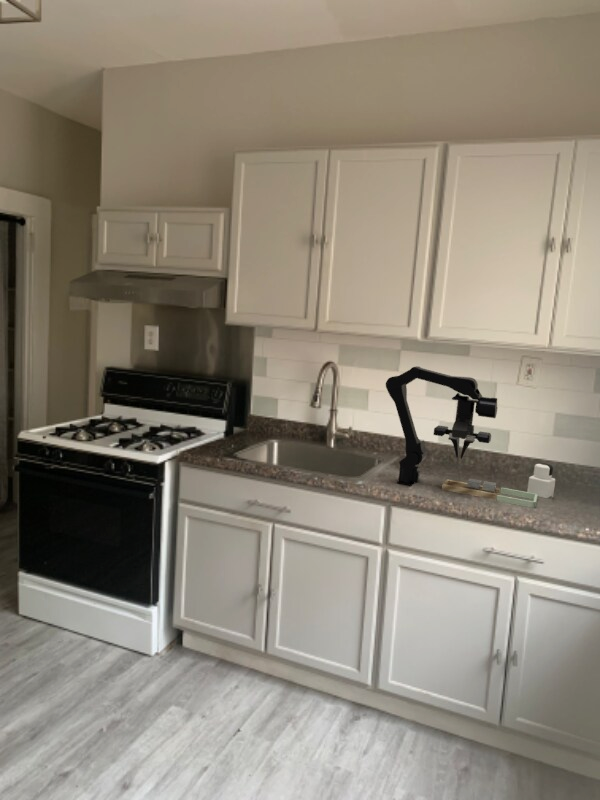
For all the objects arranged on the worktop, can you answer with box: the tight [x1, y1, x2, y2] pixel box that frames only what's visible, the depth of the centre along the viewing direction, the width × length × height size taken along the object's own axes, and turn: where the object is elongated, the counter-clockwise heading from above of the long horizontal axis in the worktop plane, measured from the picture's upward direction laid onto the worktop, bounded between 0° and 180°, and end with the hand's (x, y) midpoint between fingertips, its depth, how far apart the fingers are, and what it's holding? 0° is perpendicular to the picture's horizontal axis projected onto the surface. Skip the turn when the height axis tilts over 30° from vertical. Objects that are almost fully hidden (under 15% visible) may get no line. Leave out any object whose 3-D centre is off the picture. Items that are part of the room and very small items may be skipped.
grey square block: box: [481, 480, 497, 493], centre depth 215 cm, size 4×4×4 cm
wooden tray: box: [441, 479, 500, 501], centre depth 218 cm, size 18×9×3 cm, turn 66°
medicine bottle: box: [526, 462, 556, 499], centre depth 221 cm, size 7×7×12 cm
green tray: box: [496, 487, 539, 509], centre depth 212 cm, size 12×12×3 cm
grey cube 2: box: [467, 478, 482, 491], centre depth 217 cm, size 4×4×4 cm
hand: (459, 458), depth 218 cm, fingers closed
